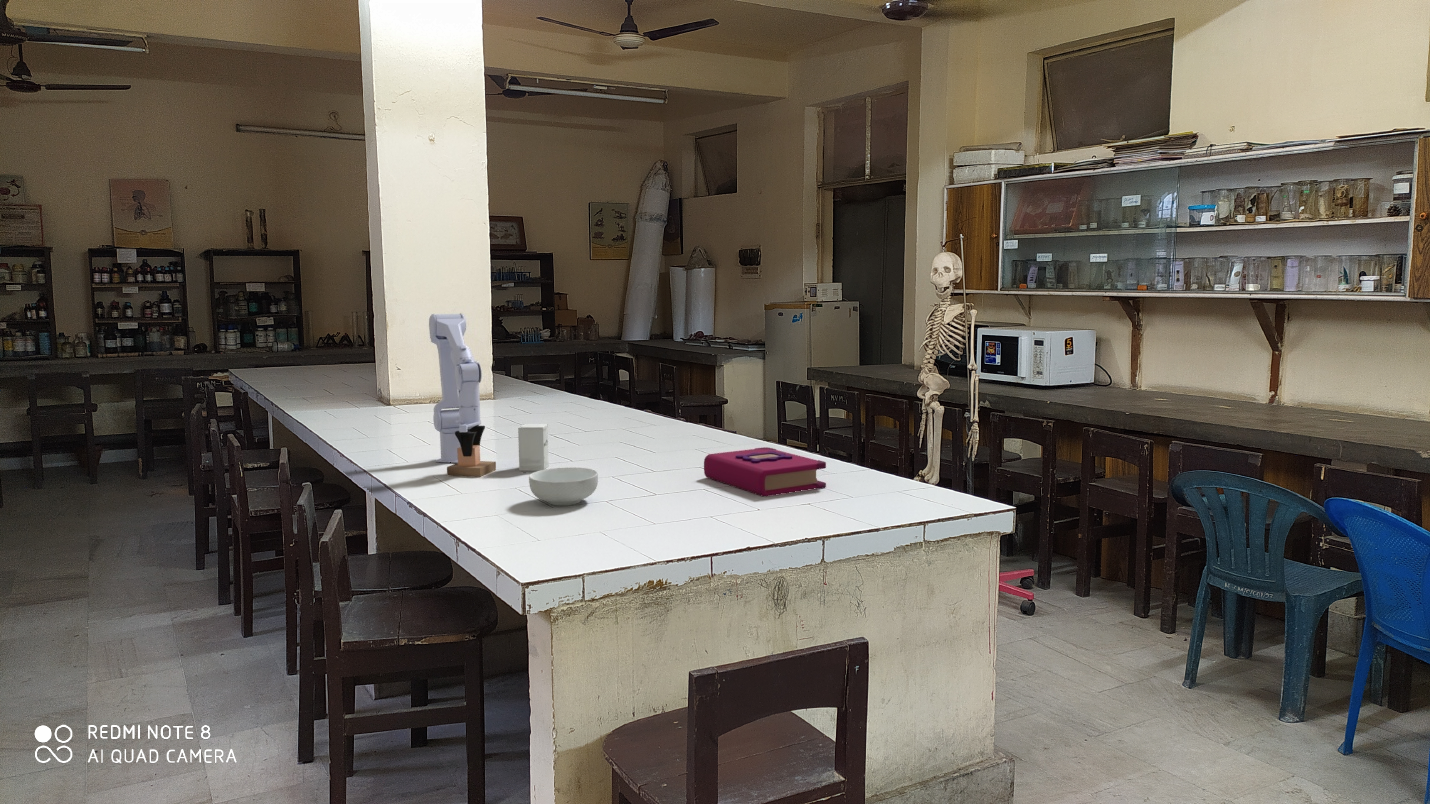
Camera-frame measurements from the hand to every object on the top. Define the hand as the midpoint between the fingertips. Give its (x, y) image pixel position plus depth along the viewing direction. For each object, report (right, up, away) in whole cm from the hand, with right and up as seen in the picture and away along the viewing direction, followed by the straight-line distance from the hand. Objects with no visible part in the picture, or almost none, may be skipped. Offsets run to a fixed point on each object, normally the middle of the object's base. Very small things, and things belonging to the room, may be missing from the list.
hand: (471, 453), depth 276 cm
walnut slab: (0, -6, +1) cm, 6 cm away
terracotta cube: (-1, -3, 0) cm, 3 cm away
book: (+82, -8, -15) cm, 84 cm away
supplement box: (+17, -5, +6) cm, 18 cm away
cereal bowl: (+32, -10, -36) cm, 49 cm away
